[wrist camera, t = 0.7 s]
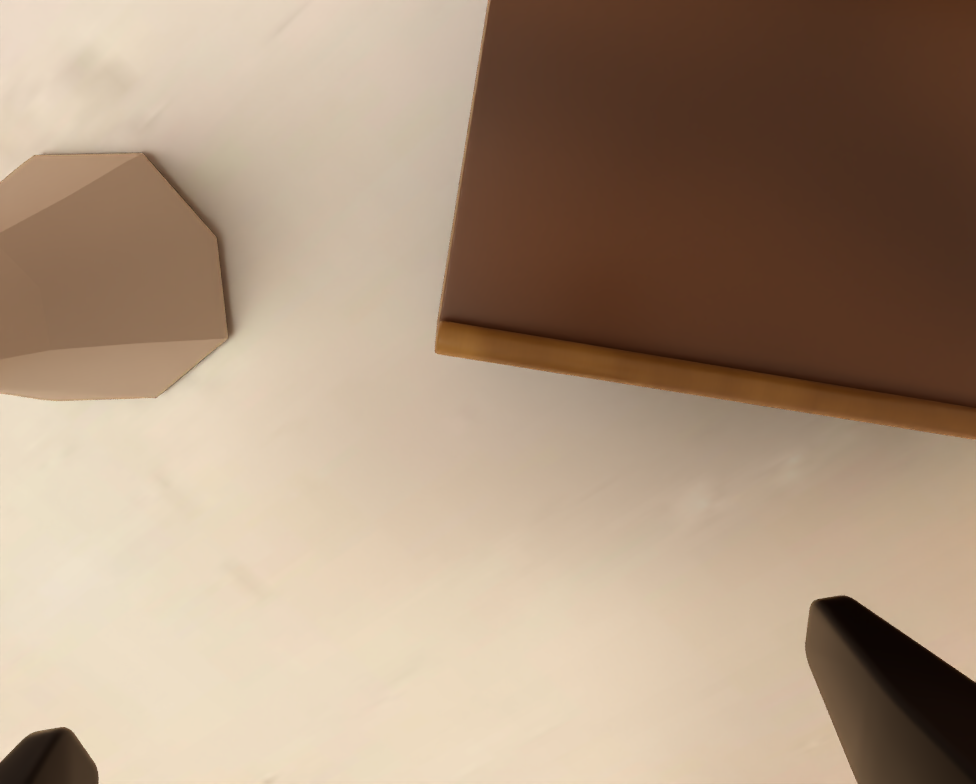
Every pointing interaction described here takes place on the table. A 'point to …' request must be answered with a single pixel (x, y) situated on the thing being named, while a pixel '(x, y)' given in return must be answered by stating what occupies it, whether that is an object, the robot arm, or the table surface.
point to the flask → (102, 280)
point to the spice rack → (726, 202)
